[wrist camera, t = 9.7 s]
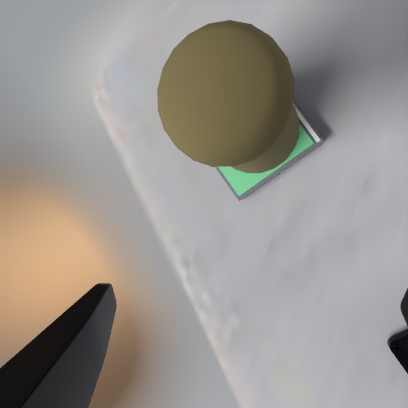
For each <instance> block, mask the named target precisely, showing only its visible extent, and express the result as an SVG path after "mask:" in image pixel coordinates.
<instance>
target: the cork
mask: <svg viewBox="0 0 408 408" xmlns="http://www.w3.org/2000/svg"><path fill="white" fill-rule="evenodd" d="M293 102H294V78H293V75H292V71H291V68H290V65H289V62H288V58H287V57H286V55H285V54H284V53H283V51H282V50H281V49H280V47H279V46H278V45H277V43H276V42H275V41H274V39H273V38H271V37H270V36H269V35H268V34H266V33H264V32H263V31H261V30H260V29H258V28H256V27H255V26H253V25H251V24H247V23H242V22H236V21H231V20H229V21H223V22H217V23H211V24H207V25H205V26H203V27H202V28H200V29H198V30H196V31H194V32H192V33H190V34H189V35H187V36H186V37H185V38H184V39H183V40H182V41H181V42H180V43H179V44H178V45H177V46H176V47H175V48H174V49H173V51H172V53H171V55H170V56H169V58H168V60H167V62H166V64H165V65H164V67H163V69H162V74H161V78H160V82H159V86H158V112H159V115H160V118H161V121H162V124H163V127H164V130H165V131H166V133H167V134H168V136H169V137H170V139H171V140H172V141H173V143H174V144H175V146H176V147H177V148H178V149H179V150H181V151H182V152H183V153H185V154H186V155H187V156H189V157H190V158H191V159H193V160H194V161H197V162H200V163H203V164H206V165H209V166H212V167H232V168H234V169H235V170H238V171H242V172H245V173H263V172H266V171H269V170H272V169H274V168H276V167H277V166H278V165H280V164H281V163H283V162H284V161H285V160H286V159H287V158H288V156H289V155H290V154H291V152H292V151H293V150H294V148H295V145H296V142H297V140H298V137H299V118H298V115H297V111H296V108H295V106H294V105H293Z"/></svg>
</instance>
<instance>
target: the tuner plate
mask: <svg viewBox="0 0 408 408" xmlns="http://www.w3.org/2000/svg"><path fill="white" fill-rule="evenodd" d="M293 105H294V106H295V108H296V111H297V115H298V118H299V137H298V140H297V142H296V145H295V148H294V150H293V151H292V152H291V154H290V155H289V156H288V158H287V159H286V160H285V161H284V162H283V163H281V164H280V165H278V166H277V167H276V168H274V169H272V170H269V171H266V172H263V173H245V172H242V171H238V170H235V169H234V168H232V167H216V169H217V170H218V172H219V173H220V175H221V176H222V177H223V179H224V180H225V182H226V183H227V184H228V186H229V187H230V189H231V190H232V191H233V193H234V194H235V196H236V197H237V199H238V200H239V201H240V200H242V199H243V198H245V197H246V196H247V195H249V194H250V193H252V192H253V191H255V190H256V189H257V188H259V187H260V186H262V185H263V184H265V183H266V182H267V181H269V180H270V179H272V178H273V177H275V176H276V175H277V174H279V173H280V172H282V171H283V170H285V169H286V168H287V167H289V166H290V165H292V164H293V163H295V162H296V161H297V160H299V159H300V158H302V157H303V156H305V155H306V154H307V153H309V152H310V151H312V150H313V149H315V148H316V147H317V146H319V145H320V144H322V143H323V142H324V140H323V138H322V137H321V136H320V134H319V133H318V132H317V130H316V129H315V128H314V126H313V125H312V124H311V122H310V121H309V120H308V118H307V117H306V116H305V114H304V113H303V112H302V110H301V109H300V108H299V106H298V105H297V104H296V102H295V101H294V102H293Z"/></svg>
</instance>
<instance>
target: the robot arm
mask: <svg viewBox="0 0 408 408" xmlns="http://www.w3.org/2000/svg"><path fill="white" fill-rule="evenodd" d="M115 311H116V299H115V295H114V291H113V287H112V285H111V284H109V283H99V284H97V285H95V286H94V287H93V288H92V289H90V290H89V291H88V292H87V293H86V294H85V295H83V296H82V297H81V298H80V299H79V300H78V301H77V302H75V303H74V305H72V306H71V307H70V308H69V309H67V310H66V311H65V312H64V313H63V314H62V315H61V316H59V317H58V318H57V319H56V320H55V321H54V322H53V323H52V324H50V325H49V326H48V327H47V328H46V329H45V330H44V331H42V332H41V333H40V334H39V335H38V336H37V337H35V338H34V339H33V340H32V341H31V342H30V343H29V344H27V345H26V346H25V347H24V348H23V349H22V350H21V351H19V352H18V353H17V354H16V355H15V356H14V357H13V358H11V359H10V360H9V361H8V362H7V363H6V364H5V365H4V366H2V367H1V368H0V408H88V407H89V404H90V401H91V398H92V395H93V392H94V389H95V386H96V383H97V380H98V377H99V375H100V371H101V369H102V365H103V362H104V359H105V355H106V351H107V347H108V342H109V338H110V334H111V329H112V325H113V320H114V316H115ZM401 312H402V314H403V316H404V319H405V321H406V324H407V326H408V288H407V291H406V293H405V295H404V297H403V299H402V301H401ZM397 343H398V344H400V346H398V347H394V344H397ZM388 346H389V348H390V350H391V351H392V352H393V354H394V355H395V357H396V358H397V359H398V361H399V362H400V364H401V365H402V366H403V368H404V369H405V370H406V372H407V373H408V330H407V331H405V332H402V333H400V334H398V335H395V336H393V337H391V338H390V339H389V340H388Z"/></svg>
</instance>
